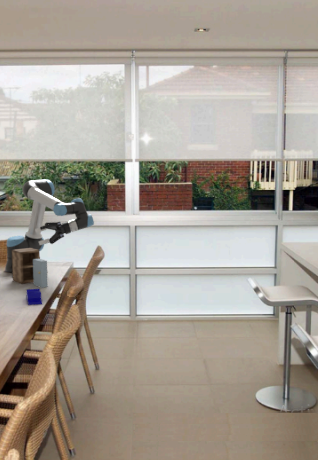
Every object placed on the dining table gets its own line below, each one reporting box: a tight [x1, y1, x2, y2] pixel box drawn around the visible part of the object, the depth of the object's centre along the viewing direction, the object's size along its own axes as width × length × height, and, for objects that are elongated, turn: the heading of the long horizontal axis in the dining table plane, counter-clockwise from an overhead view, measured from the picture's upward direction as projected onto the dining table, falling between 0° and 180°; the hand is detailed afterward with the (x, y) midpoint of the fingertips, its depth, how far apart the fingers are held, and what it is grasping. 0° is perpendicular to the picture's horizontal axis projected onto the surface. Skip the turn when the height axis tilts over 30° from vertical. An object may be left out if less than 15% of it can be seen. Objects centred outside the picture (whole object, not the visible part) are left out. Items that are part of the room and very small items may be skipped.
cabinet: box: [11, 248, 41, 285], centre depth 377 cm, size 12×14×20 cm
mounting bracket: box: [25, 288, 43, 306], centre depth 329 cm, size 18×7×6 cm, turn 16°
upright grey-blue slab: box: [33, 258, 49, 288], centre depth 364 cm, size 10×5×16 cm, turn 40°
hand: (37, 237), depth 374 cm, fingers open, 13 cm apart
